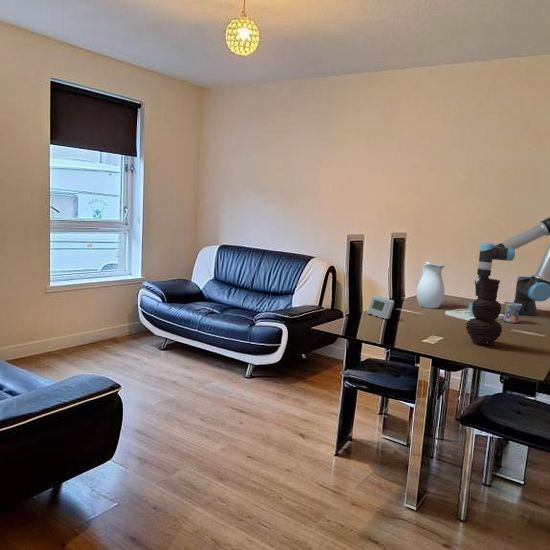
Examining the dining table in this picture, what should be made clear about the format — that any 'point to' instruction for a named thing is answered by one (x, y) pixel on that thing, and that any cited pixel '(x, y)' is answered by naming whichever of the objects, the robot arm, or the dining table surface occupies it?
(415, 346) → the dining table surface
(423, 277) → the pitcher
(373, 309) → the digital clock
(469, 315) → the switch board
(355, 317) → the dining table surface
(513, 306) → the mug
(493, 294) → the vase
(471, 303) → the tab
